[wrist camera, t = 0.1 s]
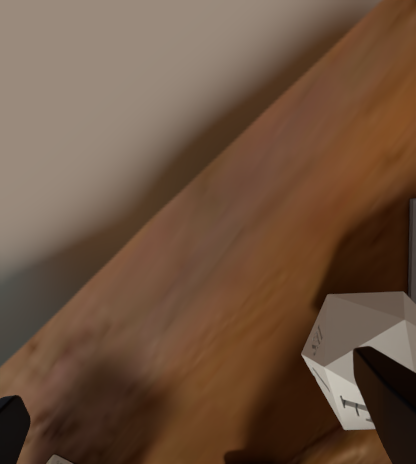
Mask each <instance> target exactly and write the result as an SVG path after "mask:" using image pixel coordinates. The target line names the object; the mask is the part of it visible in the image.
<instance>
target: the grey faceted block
mask: <svg viewBox="0 0 416 464" xmlns="http://www.w3.org/2000/svg"><path fill="white" fill-rule="evenodd" d="M364 346H371V347H373V348H375V349H376V350H378V351H380V352H381V353H383V354H385V355H387V356H388V357H390V358H392V359H393V360H395V361H397V362H398V363H400V364H402V365H403V366H405V367H407V368H408V369H410V370H412V371H414V372H415V373H416V304H415V303H414V302H413V301H412V300H411V299H410V298H409V297H408V296H407V295H406V294H405V293H404V292H403V291H401V292H375V293H349V294H327V296H326V299H325V301H324V303H323V306H322V308H321V310H320V312H319V315H318V317H317V319H316V321H315V324H314V326H313V328H312V330H311V333H310V335H309V337H308V339H307V342H306V344H305V346H304V348H303V351H302V353H301V355H302V356H303V358H304V360H305V362H306V363H307V365H308V367H309V369H310V370H311V372H312V374H313V376H315V378H316V381H317V383H318V384H319V386H320V388H321V390H322V391H323V393H324V395H325V397H326V398H327V400H328V402H329V404H330V406H331V407H332V409H333V411H334V413H335V414H336V416H337V418H338V420H339V421H340V423H341V425H342V427H343V428H344V430H361V429H376V428H375V426H374V424H373V422H372V419H371V417H370V415H369V412H368V410H367V408H366V405H365V403H364V401H363V398H362V396H361V394H360V391H359V389H358V387H357V384H356V382H355V378H354V372H353V349H354V348H356V347H364Z"/></svg>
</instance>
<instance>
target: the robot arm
mask: <svg viewBox="0 0 416 464" xmlns="http://www.w3.org/2000/svg"><path fill="white" fill-rule="evenodd" d="M353 372H354V378H355V382H356V384H357V387H358V389H359V391H360V394H361V396H362V398H363V401H364V403H365V405H366V408H367V410H368V412H369V415H370V417H371V419H372V422H373V424H374V426H375V428H376V431H377V433H378V435H379V438H380V440H381V442H382V444H383V447H384V448H385V450H386V452H387V454H388V456H389V458H390V460H391V462H392V463H393V464H416V373H415V372H414V371H412V370H410V369H408V368H407V367H405V366H403V365H402V364H400V363H398V362H397V361H395V360H393V359H392V358H390V357H388V356H387V355H385V354H383V353H381V352H380V351H378V350H376V349H375V348H373V347H371V346H364V347H356V348H354V349H353ZM29 427H30V415H29V413H28V411H27V409H26V407H25V405H24V403H23V400H22V398H21V397H20V396H18V395H13V396H5V397H2V398H0V464H16V463H17V460H18V458H19V455H20V452H21V449H22V447H23V444H24V441H25V438H26V436H27V433H28V430H29Z"/></svg>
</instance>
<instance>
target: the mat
mask: <svg viewBox="0 0 416 464" xmlns="http://www.w3.org/2000/svg"><path fill="white" fill-rule="evenodd" d="M408 297H409V298H410V299H411V300H412V301H413V302H414V303H415V304H416V198H413V199H410V224H409V271H408Z"/></svg>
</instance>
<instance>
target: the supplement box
mask: <svg viewBox="0 0 416 464" xmlns="http://www.w3.org/2000/svg"><path fill="white" fill-rule="evenodd" d="M46 464H73V463H71V462H69V461H67V460H65V459H63V458H61V457H59V456H57V455H53V456H52V457H51V458H50V459H49V460H48V462H47V463H46Z"/></svg>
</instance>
